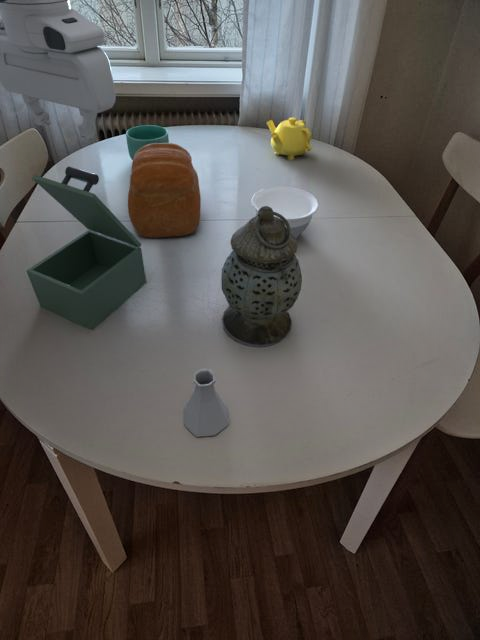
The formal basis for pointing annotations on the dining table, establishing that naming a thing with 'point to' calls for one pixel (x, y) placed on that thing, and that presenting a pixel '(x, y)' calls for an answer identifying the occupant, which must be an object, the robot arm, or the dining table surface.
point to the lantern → (261, 280)
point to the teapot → (290, 137)
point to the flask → (205, 407)
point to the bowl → (288, 205)
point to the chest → (88, 278)
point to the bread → (163, 191)
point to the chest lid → (86, 204)
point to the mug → (145, 137)
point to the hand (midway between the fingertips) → (65, 131)
